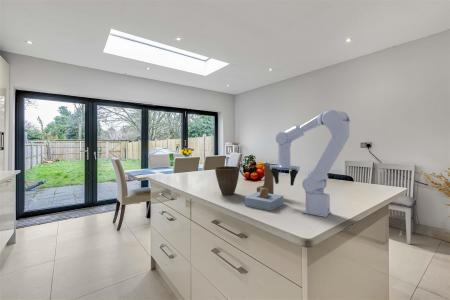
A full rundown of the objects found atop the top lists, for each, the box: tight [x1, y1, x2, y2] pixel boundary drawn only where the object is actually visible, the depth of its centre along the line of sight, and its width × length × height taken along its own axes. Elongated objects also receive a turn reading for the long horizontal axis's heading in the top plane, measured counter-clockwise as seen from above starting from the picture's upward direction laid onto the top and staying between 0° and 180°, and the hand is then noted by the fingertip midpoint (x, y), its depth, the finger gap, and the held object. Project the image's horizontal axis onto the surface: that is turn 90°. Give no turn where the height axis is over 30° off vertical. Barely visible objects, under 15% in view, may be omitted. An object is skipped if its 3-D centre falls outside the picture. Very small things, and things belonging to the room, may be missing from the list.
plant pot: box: [214, 166, 240, 196], centre depth 124 cm, size 15×15×16 cm
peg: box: [260, 188, 268, 199], centre depth 101 cm, size 4×4×8 cm
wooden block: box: [256, 163, 275, 194], centre depth 119 cm, size 9×4×18 cm, turn 65°
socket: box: [244, 191, 284, 212], centre depth 101 cm, size 14×14×4 cm
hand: (284, 184), depth 101 cm, fingers open, 7 cm apart
